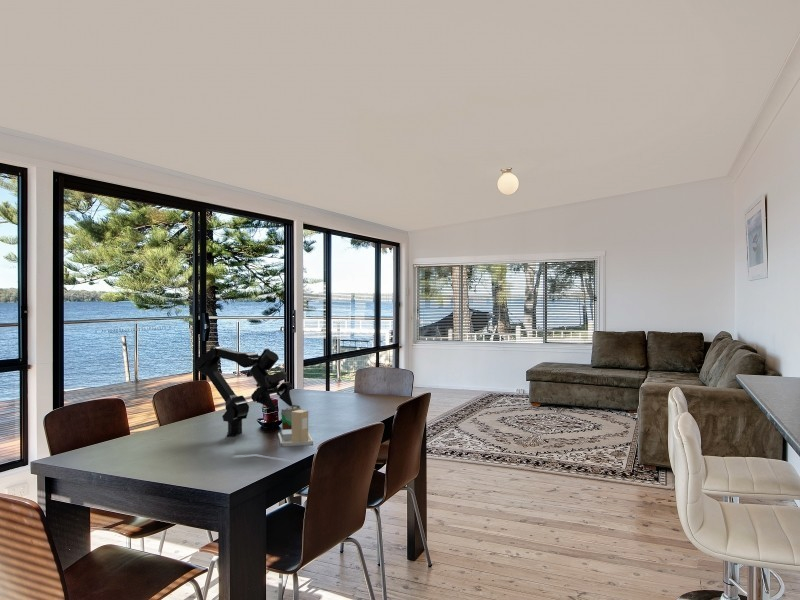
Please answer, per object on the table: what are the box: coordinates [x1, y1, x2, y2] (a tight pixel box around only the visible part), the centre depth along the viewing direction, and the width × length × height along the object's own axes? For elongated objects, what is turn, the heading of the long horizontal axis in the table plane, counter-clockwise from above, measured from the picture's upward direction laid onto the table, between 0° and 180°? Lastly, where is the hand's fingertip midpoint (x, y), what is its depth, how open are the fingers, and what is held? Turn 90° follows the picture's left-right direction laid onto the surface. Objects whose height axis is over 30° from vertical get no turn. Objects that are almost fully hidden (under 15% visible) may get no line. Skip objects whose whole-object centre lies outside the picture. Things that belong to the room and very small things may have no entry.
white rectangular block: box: [281, 429, 292, 441], centre depth 226 cm, size 8×4×2 cm, turn 15°
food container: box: [280, 404, 302, 431], centre depth 243 cm, size 12×6×10 cm, turn 168°
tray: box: [277, 431, 314, 448], centre depth 224 cm, size 18×12×2 cm, turn 15°
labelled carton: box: [292, 409, 309, 442], centre depth 220 cm, size 5×4×12 cm
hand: (283, 407), depth 223 cm, fingers open, 9 cm apart
